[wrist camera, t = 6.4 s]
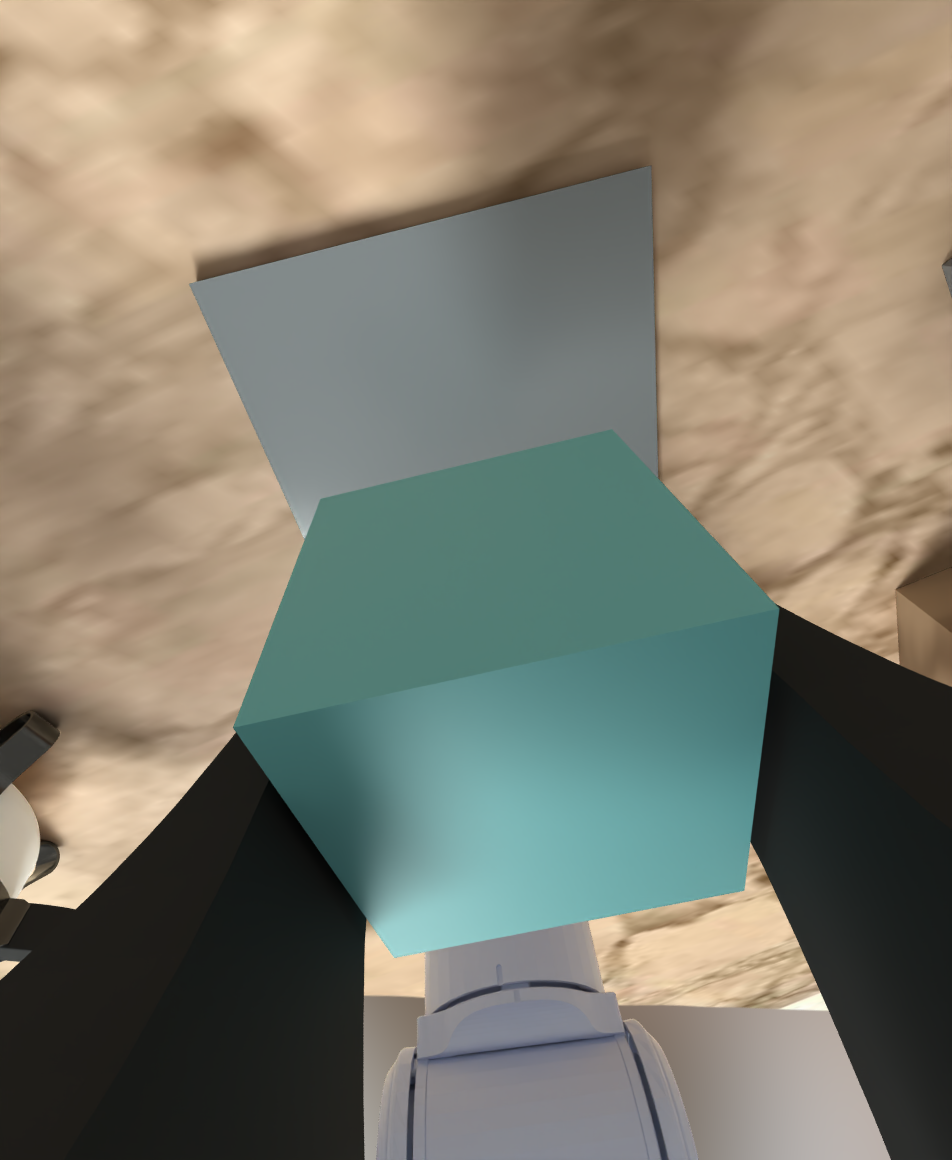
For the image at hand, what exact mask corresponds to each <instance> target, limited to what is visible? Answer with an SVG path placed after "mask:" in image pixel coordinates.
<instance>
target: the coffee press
mask: <svg viewBox="0 0 952 1160" xmlns="http://www.w3.org/2000/svg"><path fill="white" fill-rule="evenodd" d="M59 735H60V731H59V730H58V729H56V728H55V727H54V726H52V725H51V724H50V723H48V722H47V721H46V720H44V719H43V718H42V717H41V716H39V715H38V714H37V713H35V712H34V711H28V712H25V713H23V714H22V715H20V716H18V717H17V718H15V719H14V720H13V721H11V722H10V723H8V724H7V725H6V726H5V727H3V728H2V729H1V730H0V962H2V961H4V960H7V961H18V962H21V961H22V960H23V959H24V958H25V957H26V956H27V955H28V954H29V953H30V952H31V951H32V950H33V949H34V948H35V947H37V946H38V945H39V944H40V943H41V942H42V941H43V940H44V939H45V938H46V937H47V936H48V935H49V934H50V933H51V932H52V931H53V930H54V929H56V928H57V927H58V926H59V925H60V924H61V923H62V922H63V921H64V920H65V919H66V918H67V917H68V916H69V915H70V914H71V913H72V912H73V911H75V909H70V908H65V907H58V906H51V905H43V904H34V903H28V902H27V901H25V900H24V899H16V898H17V897H18V895H19V893H20V892H21V890H22V889H23V888H25V887H27V886H28V885H30V884H31V883H33V882H35V881H37V880H39V879H41V878H43V877H44V876H46V875H48V874H50V873H51V872H52V871H53V870H54V869H55V868H56V867H57V865H58V862H59V858H60V853H59V850H58V848H57V846H56V845H55V844H54V843H52V842H49V841H44V842H40V832H39V826H38V822H37V819H36V816H35V814H34V811H33V809H32V808H31V806H30V804H29V803H28V801H27V800H26V798H25V797H24V796H23V795H22V793H21V792H20V791H19V790H18V789H17V788H16V787H15V786H14V785H13V784H12V782H13V781H14V780H15V779H16V778H17V777H18V776H19V775H21V774H22V773H23V772H24V771H25V770H26V769H27V768H28V767H29V766H30V765H32V764H33V763H34V762H35V761H36V760H37V759H38V758H39V757H40V756H42V755H43V754H44V753H45V752H46V751H47V750H48V749H49V748H50V747H51V746H52V745H53V744H54V743H55V742H56V740H57V739H58V737H59ZM35 864H36V868H35V871H34V872H33V874H32V875H31V876H30V874H31V872H32V870H33V868H34V866H35ZM29 876H30V877H29Z"/></svg>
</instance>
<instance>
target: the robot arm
mask: <svg viewBox="0 0 952 1160" xmlns="http://www.w3.org/2000/svg"><path fill="white" fill-rule="evenodd" d="M776 605H777V604H776ZM777 606H778V608H779V616H778V624H777V632H776V640H775V648H774V656H773V664H772V672H771V680H770V688H769V696H768V704H767V712H766V720H765V728H764V736H763V744H762V752H761V760H760V768H759V776H758V784H757V792H756V800H755V808H754V816H753V824H752V832H751V840H750V842H751V844H752V846H753V848H754V850H755V851H756V853H757V855H758V857H759V859H760V861H761V863H762V865H763V867H764V869H765V871H766V873H767V875H768V877H769V880H770V882H771V884H772V886H773V888H774V890H775V893H776V895H777V897H778V899H779V901H780V903H781V905H782V908H783V910H784V912H785V914H786V916H787V918H788V921H789V923H790V925H791V927H792V929H793V931H794V934H795V936H796V938H797V940H798V942H799V945H800V947H801V949H802V952H803V954H804V956H805V958H806V961H807V963H808V965H809V967H810V970H811V972H812V974H813V976H814V979H815V981H816V983H817V985H818V988H819V990H820V992H821V994H822V997H823V999H824V1001H825V1003H826V1006H827V1008H828V1010H829V1012H830V1015H831V1017H832V1019H833V1022H834V1024H835V1026H836V1029H837V1031H838V1033H839V1036H840V1038H841V1040H842V1043H843V1045H844V1048H845V1050H846V1052H847V1055H848V1057H849V1059H850V1062H851V1064H852V1066H853V1069H854V1071H855V1073H856V1076H857V1078H858V1081H859V1083H860V1085H861V1088H862V1090H863V1092H864V1095H865V1097H866V1099H867V1102H868V1104H869V1107H870V1109H871V1111H872V1113H873V1116H874V1118H875V1121H876V1123H877V1126H878V1128H879V1131H880V1133H881V1135H882V1138H883V1141H884V1143H885V1145H886V1148H887V1151H888V1153H889V1156H890V1158H891V1160H952V687H951V686H948V685H946V684H943V683H941V682H938V681H936V680H933V679H931V678H928V677H926V676H924V675H921V674H919V673H917V672H914V671H912V670H910V669H907V668H905V667H903V666H901V665H898V664H896V663H894V662H892V661H889V660H887V659H885V658H883V657H881V656H879V655H877V654H875V653H872V652H870V651H868V650H866V649H864V648H862V647H860V646H858V645H855V644H853V643H851V642H849V641H847V640H845V639H843V638H841V637H839V636H837V635H835V634H833V633H831V632H829V631H827V630H825V629H823V628H821V627H819V626H817V625H815V624H813V623H811V622H809V621H807V620H805V619H803V618H801V617H799V616H797V615H795V614H794V613H792V612H790V611H788V610H786V609H784V608H782V607H781V606H779V605H777ZM365 931H366V917H365V915H364V914H363V913H362V911H361V910H360V908H359V907H358V905H357V904H356V903H355V901H354V900H353V898H352V897H351V895H350V894H349V893H348V891H347V890H346V888H345V887H344V885H343V884H342V883H341V881H340V880H339V878H338V877H337V875H336V874H335V873H334V871H333V870H332V868H331V867H330V865H329V864H328V863H327V861H326V860H325V858H324V857H323V855H322V854H321V853H320V851H319V850H318V848H317V847H316V845H315V844H314V843H313V841H312V840H311V838H310V837H309V835H308V834H307V833H306V831H305V830H304V828H303V827H302V825H301V824H300V823H299V821H298V820H297V818H296V817H295V815H294V814H293V813H292V811H291V810H290V808H289V807H288V805H287V804H286V803H285V801H284V800H283V798H282V797H281V795H280V794H279V793H278V791H277V790H276V788H275V787H274V785H273V784H272V783H271V781H270V780H269V778H268V777H267V775H266V774H265V773H264V771H263V770H262V768H261V767H260V765H259V764H258V763H257V761H256V760H255V758H254V757H253V755H252V754H251V753H250V751H249V750H248V748H247V747H246V745H245V744H244V743H243V741H242V740H241V738H240V737H239V735H238V734H237V733H235V734H234V736H233V737H232V738H231V740H230V741H229V742H228V743H227V745H226V746H225V747H224V748H223V749H222V751H221V752H220V753H219V754H218V755H217V757H216V758H215V759H214V760H213V761H212V763H211V764H210V765H209V766H208V767H207V769H206V770H205V771H204V772H203V773H202V775H201V776H200V777H199V778H198V779H197V781H196V782H195V783H194V784H193V785H192V787H191V788H190V789H189V790H188V791H187V793H186V794H185V795H184V796H183V797H182V799H181V800H180V801H179V802H178V803H177V805H176V806H175V807H174V808H173V809H172V810H171V811H170V812H169V814H168V815H167V816H166V817H165V818H164V819H163V820H162V821H161V822H160V824H159V825H158V826H157V827H156V828H155V829H154V830H153V831H152V832H151V833H150V835H149V836H148V837H147V838H146V839H145V840H144V841H143V842H142V843H141V844H140V845H139V846H138V847H137V848H136V849H135V850H134V851H133V852H132V853H131V855H130V856H129V857H128V858H127V859H126V860H125V861H124V862H123V863H122V864H121V865H120V866H119V867H118V868H117V869H116V870H115V871H114V872H113V873H112V874H111V875H110V876H109V877H108V878H107V879H106V880H105V881H104V882H103V883H102V884H101V885H100V886H99V887H98V888H97V889H96V890H95V891H94V892H93V893H92V894H91V895H90V896H89V897H88V898H87V899H86V900H85V901H84V902H83V903H82V904H81V905H80V906H79V907H78V908H77V909H76V910H75V911H73V912H72V913H71V914H70V915H69V916H68V917H67V918H66V919H65V920H64V921H63V922H62V923H61V924H60V925H59V926H58V927H57V928H56V929H54V930H53V931H52V932H51V933H50V934H49V935H48V936H47V937H46V938H45V939H44V940H43V941H42V942H41V943H40V944H39V945H38V946H37V947H35V948H34V949H33V950H32V951H31V952H30V953H29V954H28V955H27V956H26V957H25V958H24V959H23V960H22V961H21V962H20V963H19V964H18V965H16V966H15V967H14V968H13V969H12V970H11V971H10V972H9V973H8V974H7V975H6V976H5V977H3V978H2V979H1V980H0V1160H364V1113H363V1112H364V1108H363V1009H364V1005H363V1004H364V952H365ZM376 1160H699V1159H698V1155H697V1151H696V1147H695V1143H694V1139H693V1136H692V1132H691V1128H690V1125H689V1122H688V1118H687V1115H686V1111H685V1108H684V1104H683V1101H682V1098H681V1095H680V1092H679V1089H678V1086H677V1083H676V1081H675V1079H674V1076H673V1073H672V1070H671V1068H670V1065H669V1063H668V1061H667V1058H666V1056H665V1054H664V1052H663V1050H662V1048H661V1047H660V1045H659V1044H658V1042H657V1041H656V1040H655V1039H654V1038H653V1037H652V1036H651V1035H650V1034H649V1033H648V1032H647V1031H646V1030H645V1029H644V1027H643V1026H642V1025H641V1024H640V1023H639V1022H638V1021H637V1020H635V1019H628V1020H622V1018H621V1014H620V1010H619V1006H618V1002H617V998H616V994H615V993H614V992H606V993H605V991H604V986H603V982H602V978H601V974H600V970H599V965H598V961H597V957H596V953H595V949H594V944H593V940H592V936H591V932H590V928H589V923H588V921H584V922H579V923H573V924H568V925H563V926H558V927H553V928H547V929H542V930H537V931H532V932H527V933H521V934H516V935H511V936H506V937H501V938H495V939H490V940H485V941H480V942H475V943H469V944H464V945H459V946H454V947H449V948H443V949H438V950H433V951H428V952H425V1015H424V1016H419V1017H418V1019H417V1047H405V1048H404V1049H402V1050H401V1051H400V1053H399V1054H398V1057H397V1060H396V1061H395V1063H394V1064H393V1066H392V1067H391V1069H390V1070H389V1072H388V1073H387V1076H386V1079H385V1082H384V1087H383V1093H382V1099H381V1106H380V1115H379V1125H378V1139H377V1155H376Z"/></svg>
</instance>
